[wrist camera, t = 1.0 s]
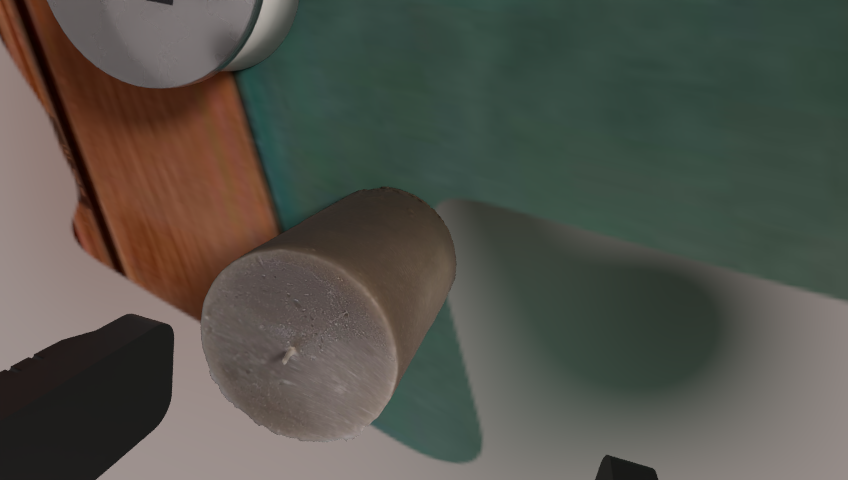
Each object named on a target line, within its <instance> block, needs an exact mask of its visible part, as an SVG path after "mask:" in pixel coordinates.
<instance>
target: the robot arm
mask: <svg viewBox="0 0 848 480" xmlns="http://www.w3.org/2000/svg"><path fill="white" fill-rule="evenodd" d="M173 350H174V333H173V329H172V327H171V326H170V325H168V324H165V323H162V322H159V321H156V320H152V319H149V318H145V317H142V316H139V315H135V314H126V315H124V316H122V317H120V318H118V319H117V320H114V321H113V322H111V323H109V324H107V325H105V326H103V327H102V328H100V329H98V330H96V331H92V332H89V333H85V334H82V335H78V336H75V337H71V338H67V339H64V340H61V341H59V342H57V343H55V344H53V345H51V346H49V347H47V348H45V349H44V350H42V351H40V352H38V353H36V354H34V357H33V358H29V357H28V358H26V359H24V360H22V361H21V362H19V363H17V364H15V365H13V366H11V369H10V370H9V371H7V370H3V371H1V372H0V480H96V479H97V478H98V477H99V476H100V475H102V474H103V473H104V472H105V471H106V470H107V469H109V468H110V467H111V466H112V465H113V464H115V463H116V462H117V461H118V460H119V459H120V458H121V457H123V456H124V455H125V454H126V453H127V452H128V451H130V450H131V449H132V448H133V447H134V446H135V445H137V444H138V443H139V442H140V441H141V440H142V439H144V438H145V437H146V436H147V435H148V434H149V433H151V432H152V431H153V430H154V429H155V428H156V427H157V426H158V425H159V424H160V422H161V421H162V419H163V418H164V416H165V414H166V412H167V410H168V408H169V405H170V402H171V396H172V375H173V352H174V351H173ZM595 480H658V478H657V474H656V471H655V470H654V469H653V468H650V467H647V466H643V465H640V464H636V463H633V462H630V461H626V460H623V459H619V458H616V457H612V456H609V455H606V456H605V457H604V458H603V460H602V462H601V465H600V467H599V470H598V473H597V476H596V479H595Z"/></svg>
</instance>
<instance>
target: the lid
mask: <svg viewBox="0 0 848 480" xmlns="http://www.w3.org/2000/svg"><path fill="white" fill-rule="evenodd" d="M47 2H48V4H49V6H50V8H51V10H52V12H53V14H54V16H55V18H56V20H57V21H58V23H59V25H60V26H61V28H62V30H63V31H64V33H65V34H66V35H67V37H68V38H69V39H70V41H71V42H72V43H73V45H74V46H75V47H76V48H77V49H78V50H79V51H80V52H81V53H82V54H83V55H84V56H85V57H86V58H87V59H88V60H89V61H91V62H92V63H93V64H94V65H95V66H96V67H98V68H99V69H101V70H102V71H104V72H106V73H107V74H109V75H111V76H113V77H115V78H117V79H119V80H121V81H123V82H126V83H129V84H132V85H135V86H141V87H146V88H179V87H186V86H190V85H194V84H197V83H200V82H202V81H204V80H206V79H208V78H211V77H213V76H214V75H215V74H217V73H218V72H220V71H221V70H223V69H224V68H225V67H226V66H227V65H228V64H229V63H230V62H231V61H233V60H234V59H235V57H236V56H237V55H238V54H239V52H240V51H241V50H242V49H243V47H244V46H245V44H246V42H247V41H248V39H249V37H250V36H251V34H252V32H253V30H254V27H255V25H256V23H257V20H258V18H259V14H260V11H261V7H262V4H263V0H47Z"/></svg>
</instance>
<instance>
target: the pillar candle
mask: <svg viewBox="0 0 848 480" xmlns="http://www.w3.org/2000/svg"><path fill="white" fill-rule="evenodd" d="M455 273H456V256H455V249H454V244H453V240H452V238H451V235H450V232H449V230H448V228H447V226H446V225H445V224H444V221H443V220H442V219H441V217H440V216H439V215H438V214H437V213H436V211H435V210H434V209H432V208H430V206H429V205H428V204H427V203H426V202H424V201H423V200H421V199H420V198H418V197H417V196H415V195H413V194H410V193H408V192H405V191H403V190H400V189H396V188H390V187H381V188H377V189H372V190H366V189H363V190H359V191H357V192H355V193H352V194H350V195H349V196H347V197H345V198H343V199H342V200H340V201H338V202H336V203H334V204H332V205H331V206H329V207H327V208H325V209H324V210H322V211H320V212H319V213H316V214H315V215H313V216H311V217H309V218H308V219H306V220H304V221H303V222H301V223H300V224H298V225H296V226H294V227H292V228H291V229H289V230H287V231H285V232H284V233H282V234H280V235H278V236H277V237H275V238H273V239H271V240H270V241H268V242H266V243H264V244H262V245H261V246H259V247H257V248H255V249H253V250H252V251H250V252H248V253H246V254H244V255H243V256H241V257H240V258H238V259H237V260H235V261H233V262H232V263H231V264H229V265H228V266H227V267H226V268H225V269H224V270H222V271H221V273H220V274H219V275H218V276H217V278H216V279H215V280H214V282H213V283H212V285H211V287H210V289H209V291H208V293H207V295H206V297H205V300H204V303H203V309H202V316H201V317H202V318H201V340H202V345H203V350H204V353H205V356H206V360H207V362H208V365H209V368H210V376H211V377H212V379H213V380H214V381H215V383H217V384H218V385H219V389H220V390H221V392H222V394H223V395H224V396H225V398H226V399H227V400H228V401H229V402H232V403H233V404H234V406H235V407H236V408H239V409H241V410H242V411H243V412H244V413H246V414H247V415H248V416H249V417H250V418H251V419H252V420H253V421H254V422H255V423H256V424H258V425H259V426H260V425H263V426H265V427H267V428H268V429H269V430H270V431H271V432H273V433H275V434H277V435H283V436H286V437H290V438H297V439H299V440H300V441H313V442H314V441H319V442H328V441H333V440H338V439H345V440H346V441H347V440H348V439H354V438H355V437H357V436H358V435H360V434H361V433H362V432H363V428H364V427H366V426H369V424H370V423H371V422H372V421H373V420H375V419H376V418H377V417H378V416H379V415H380V413H381V412H382V410H383V409H384V408H385V406H386V405H387V403H388V402H389V400H390V399H391V397H392V395H393V393H394V391H395V389H396V388H397V386H398V384H399V382H400V380H401V378H402V376H403V374H404V373H405V371H406V369H407V367H408V365H409V364H410V362H411V360H412V358H413V357H414V355H415V353H416V351H417V349H418V347H419V346H420V344H421V342H422V341H423V339H424V337H425V335H426V333H427V331H428V330H429V328H430V327H431V325H432V324H433V322H434V320H435V318H436V315H437V314H438V312H439V310H440V309H441V307H442V305H443V303H444V301H445V299H446V297H447V295H448V292H449V291H450V289H451V286H452V284H453V282H454V280H455V276H456V274H455Z"/></svg>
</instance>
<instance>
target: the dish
mask: <svg viewBox="0 0 848 480" xmlns="http://www.w3.org/2000/svg"><path fill="white" fill-rule="evenodd" d="M298 3H299V0H263V4H262V7H261V11H260V14H259V18H258V20H257V23H256V25H255V27H254V30H253V32H252V34H251V36H250V37H249V39H248V41H247V42H246V44H245V46H244V47H243V49H242V50H241V51H240V52H239V54H238V55H237V56H236V57H235V59H234V60H233V61H231V62H230V63H229V64H228V65H227V66H226V67H225V68H224V69H223V70H221V71H237V70H243V69H246V68H249V67H252V66H254V65H256V64H258V63H260V62H261V61H263V60H264V59H266V58H267V57H269V56H270V55H271V54H272V53H273V52H274V51H275V50H276V49H277V48H278V47H279V45H280V44H281V43H282V42H283V40H284V39H285V37H286V36H287V34H288V32H289V30H290V28H291V26H292V24H293V21H294V18H295V15H296V12H297V8H298Z"/></svg>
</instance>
